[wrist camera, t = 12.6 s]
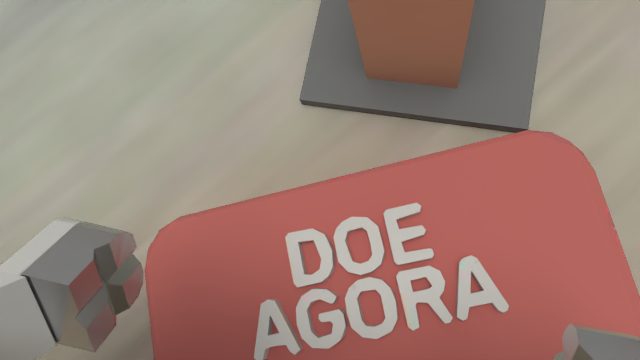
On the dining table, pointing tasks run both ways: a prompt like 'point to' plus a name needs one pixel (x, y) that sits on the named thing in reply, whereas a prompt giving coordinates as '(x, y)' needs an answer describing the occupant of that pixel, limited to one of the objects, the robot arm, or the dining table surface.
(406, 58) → the salmon orange upright block
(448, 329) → the plaque
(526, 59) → the felt mat
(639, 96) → the dining table surface
